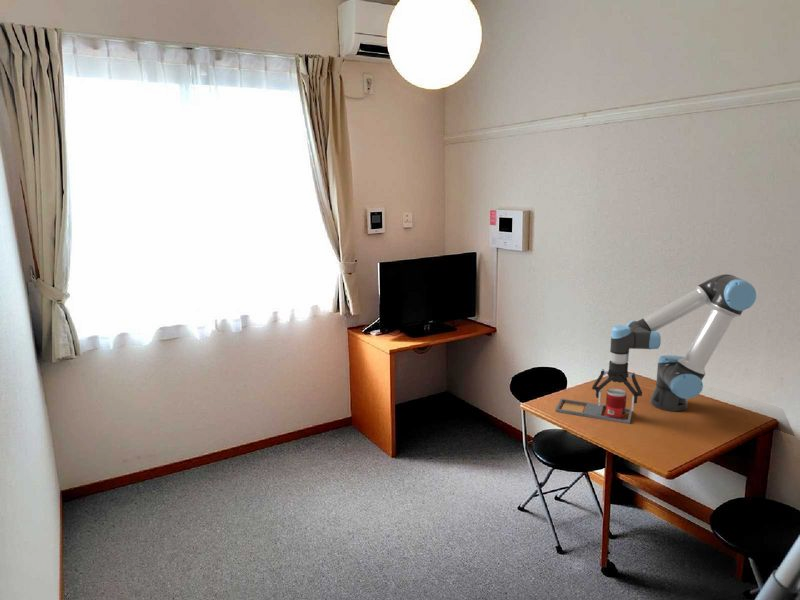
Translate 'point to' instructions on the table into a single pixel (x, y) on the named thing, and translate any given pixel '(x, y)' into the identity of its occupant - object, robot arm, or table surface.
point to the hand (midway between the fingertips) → (615, 407)
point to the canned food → (615, 403)
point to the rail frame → (588, 410)
